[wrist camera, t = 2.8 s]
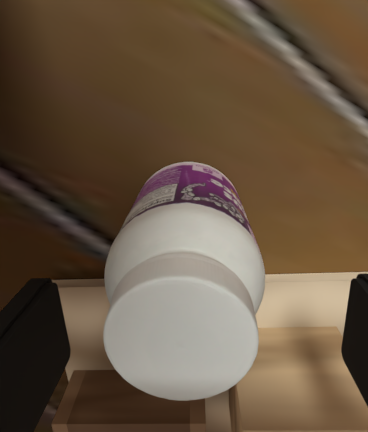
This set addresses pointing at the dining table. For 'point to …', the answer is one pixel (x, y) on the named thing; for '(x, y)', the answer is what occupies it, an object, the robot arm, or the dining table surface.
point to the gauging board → (266, 315)
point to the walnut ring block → (122, 407)
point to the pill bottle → (184, 287)
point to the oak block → (298, 385)
